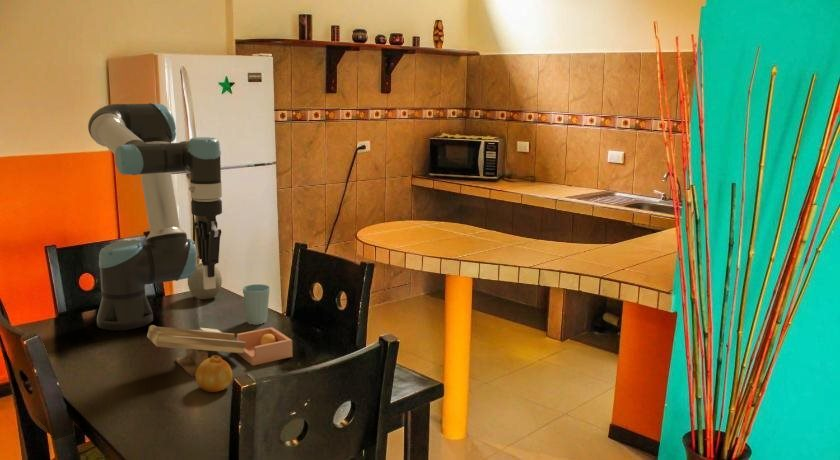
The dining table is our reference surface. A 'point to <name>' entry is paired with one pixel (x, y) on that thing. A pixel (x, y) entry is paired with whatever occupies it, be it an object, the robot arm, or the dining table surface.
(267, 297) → the cup
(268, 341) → the ball
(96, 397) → the dining table surface
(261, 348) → the dish
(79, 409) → the dining table surface
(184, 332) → the lever
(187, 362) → the fulcrum
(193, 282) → the fruit
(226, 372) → the fruit
